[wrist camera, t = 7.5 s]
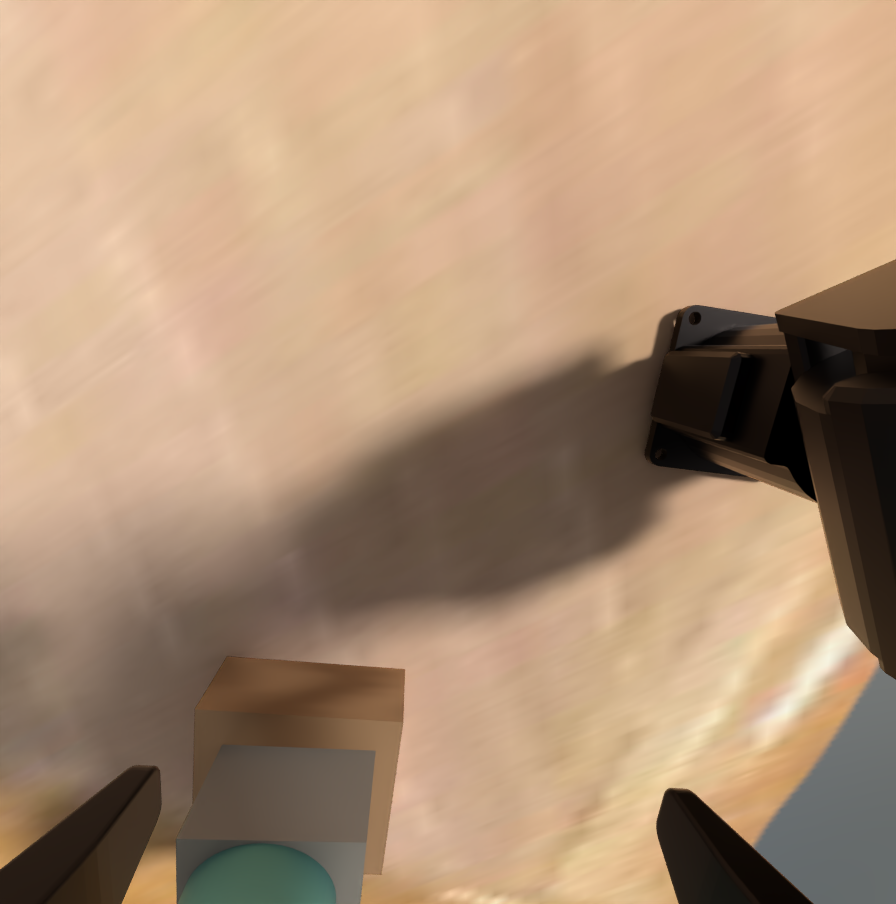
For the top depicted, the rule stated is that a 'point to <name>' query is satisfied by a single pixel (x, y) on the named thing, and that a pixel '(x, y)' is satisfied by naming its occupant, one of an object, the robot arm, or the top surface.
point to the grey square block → (284, 809)
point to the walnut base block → (307, 721)
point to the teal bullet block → (259, 878)
